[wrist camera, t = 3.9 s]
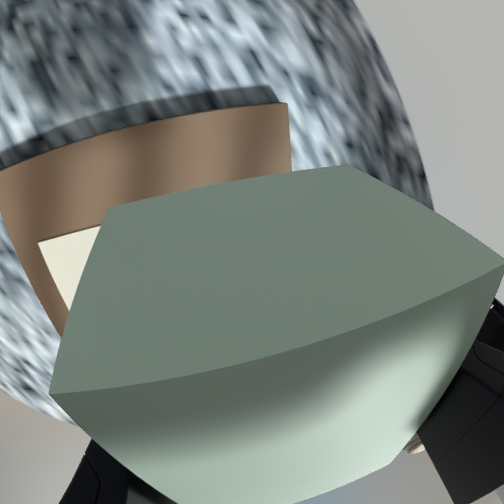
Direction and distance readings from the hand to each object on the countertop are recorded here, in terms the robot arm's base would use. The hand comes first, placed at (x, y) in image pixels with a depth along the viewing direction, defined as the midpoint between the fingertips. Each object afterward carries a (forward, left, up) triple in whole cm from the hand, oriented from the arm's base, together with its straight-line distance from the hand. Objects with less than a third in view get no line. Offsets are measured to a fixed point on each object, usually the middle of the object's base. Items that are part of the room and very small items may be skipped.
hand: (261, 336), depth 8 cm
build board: (+4, +3, -12) cm, 13 cm away
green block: (0, 0, -1) cm, 1 cm away
